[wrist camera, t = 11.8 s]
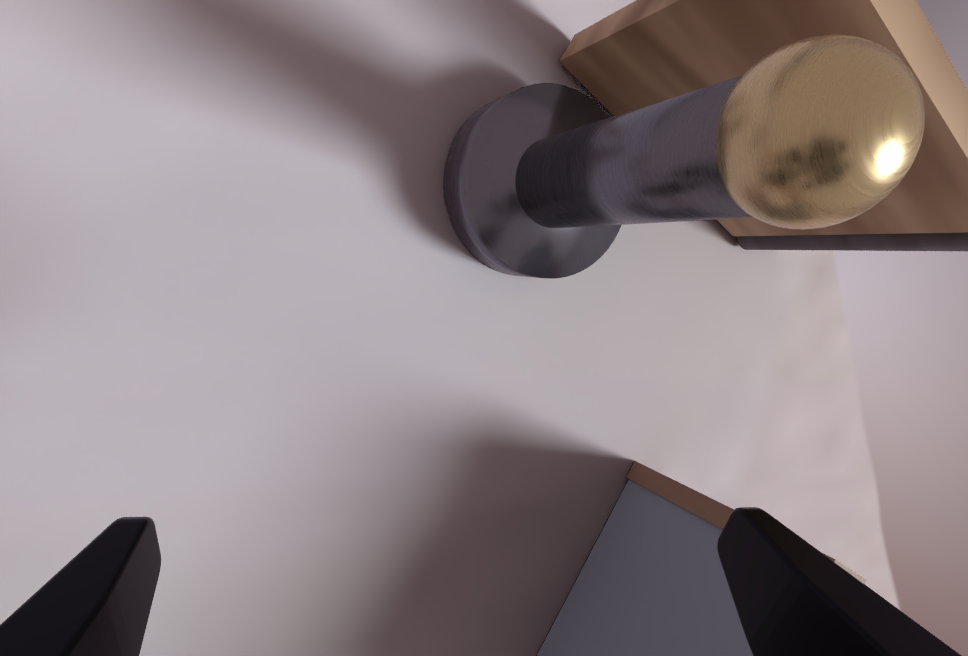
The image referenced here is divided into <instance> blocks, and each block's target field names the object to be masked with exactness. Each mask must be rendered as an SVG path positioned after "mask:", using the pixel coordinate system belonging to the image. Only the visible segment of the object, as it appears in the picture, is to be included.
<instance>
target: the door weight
mask: <svg viewBox="0 0 968 656" xmlns="http://www.w3.org/2000/svg"><path fill="white" fill-rule="evenodd" d="M924 125H925V110H924V102H923V97H922V93H921V90H920V87H919V85H918V83H917V81H916V79H915V77H914V75H913V74H912V72H911V71H910V69H909V68H908V67H907V66H906V64H905V63H904V62H903V61H902V60H901V59H900V58H899V57H898V56H897V55H895V54H894V53H893V52H891V51H890V50H888V49H887V48H885V47H883V46H882V45H880V44H877V43H875V42H872V41H870V40H867V39H864V38H860V37H855V36H849V35H823V36H815V37H809V38H806V39H802V40H798V41H795V42H792V43H790V44H788V45H785V46H783V47H781V48H779V49H777V50H775V51H773V52H772V53H770V54H768V55H767V56H765V57H763V58H762V59H761V60H760V61H758V62H757V63H756V64H755V65H754V66H752V67H751V68H750V69H749V70H748V71H747V72H746V73H745V74H744V75H742V76H739V77H736V78H733V79H730V80H726V81H723V82H720V83H717V84H714V85H711V86H707V87H704V88H701V89H698V90H695V91H692V92H688V93H685V94H682V95H679V96H676V97H673V98H669V99H666V100H663V101H660V102H657V103H654V104H650V105H647V106H644V107H641V108H638V109H635V110H631V111H628V112H625V113H622V114H619V115H616V116H612V117H609V118H608V117H607V115H606V114H605V113H604V112H603V110H602V109H601V108H600V107H599V106H598V105H597V104H596V103H595V102H593V101H592V100H591V99H589V98H588V97H587V96H585V95H584V94H582V93H580V92H578V91H577V90H575V89H572V88H569V87H567V86H563V85H558V84H551V83H541V84H533V85H529V86H526V87H522V88H520V89H518V90H516V91H514V92H512V93H510V94H508V95H506V96H504V97H502V98H500V99H498V100H496V101H494V102H491V103H489V104H487V105H485V106H484V107H482V108H481V109H479V110H478V111H476V112H475V113H474V114H473V115H472V116H471V117H470V118H469V119H467V121H466V122H465V123H464V124H463V126H462V127H461V128H460V130H459V131H458V133H457V135H456V136H455V138H454V140H453V142H452V145H451V147H450V149H449V153H448V156H447V160H446V164H445V171H444V197H445V203H446V208H447V212H448V215H449V218H450V221H451V223H452V226H453V228H454V230H455V232H456V234H457V235H458V237H459V239H460V240H461V242H462V243H463V245H464V246H465V247H466V248H467V249H468V251H469V252H470V253H471V254H472V255H473V256H474V257H476V258H477V259H478V260H479V261H480V262H482V263H483V264H485V265H486V266H488V267H490V268H492V269H494V270H496V271H499V272H502V273H504V274H509V275H514V276H525V277H537V278H561V277H566V276H570V275H573V274H576V273H578V272H580V271H582V270H584V269H586V268H587V267H589V266H590V265H592V264H593V263H594V262H596V261H597V260H598V259H599V258H600V257H601V256H602V255H603V254H604V253H605V252H606V251H607V249H608V248H609V247H610V245H611V244H612V242H613V241H614V239H615V237H616V235H617V233H618V232H619V229H620V227H621V225H623V224H641V223H659V222H677V221H695V220H713V219H731V218H748V217H754V218H756V219H758V220H760V221H762V222H765V223H767V224H770V225H774V226H777V227H782V228H789V229H814V228H823V227H828V226H832V225H836V224H839V223H842V222H845V221H847V220H850V219H852V218H854V217H856V216H858V215H860V214H862V213H864V212H865V211H867V210H869V209H871V208H872V207H873V206H875V205H876V204H877V203H879V202H880V201H881V200H883V199H884V198H885V197H886V196H887V195H888V194H889V193H890V192H891V191H892V190H893V189H894V188H895V187H896V186H897V185H898V184H899V183H900V182H901V180H902V179H903V178H904V176H905V175H906V173H907V172H908V171H909V169H910V167H911V166H912V164H913V162H914V160H915V157H916V155H917V153H918V150H919V148H920V145H921V142H922V138H923V133H924Z"/></svg>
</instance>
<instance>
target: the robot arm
mask: <svg viewBox="0 0 968 656" xmlns="http://www.w3.org/2000/svg"><path fill="white" fill-rule="evenodd" d="M717 550H718V555H719V558H720V561H721V564H722V567H723V570H724V573H725V576H726V579H727V582H728V585H729V589H730V592H731V595H732V598H733V601H734V604H735V607H736V610H737V613H738V616H739V619H740V622H741V625H742V628H743V631H744V633H745V636H746V639H747V642H748V644H749V647H750V649H751V652H752V654H753V656H961V655H959V654H958V653H957V652H956V651H954V650H953V649H952V648H950V647H949V646H948V645H946V644H945V643H944V642H942V641H941V640H939V639H938V638H937V637H935V636H934V635H933V634H931V633H930V632H929V631H927V630H926V629H924V628H923V627H922V626H920V625H919V624H918V623H916V622H915V621H914V620H912V619H911V618H909V617H908V616H907V615H905V614H904V613H903V612H901V611H900V610H899V609H897V608H896V607H895V606H893V605H892V604H890V603H889V602H888V601H886V600H885V599H884V598H882V597H881V596H880V595H878V594H877V593H876V592H874V591H873V590H871V589H870V588H869V587H867V586H866V585H865V584H863V583H862V582H861V581H859V580H858V579H856V578H855V577H854V576H852V575H851V574H850V573H848V572H847V571H846V570H844V569H843V568H842V567H840V566H839V565H837V564H836V563H835V562H833V561H832V560H831V559H829V558H828V557H827V556H825V555H824V554H822V553H821V552H820V551H818V550H817V549H816V548H814V547H813V546H812V545H810V544H809V543H807V542H806V541H805V540H803V539H802V538H801V537H799V536H798V535H797V534H795V533H794V532H793V531H791V530H790V529H788V528H787V527H786V526H784V525H783V524H782V523H780V522H779V521H778V520H776V519H775V518H773V517H772V516H771V515H769V514H768V513H767V512H765V511H764V510H762V509H760V508H756V507H743V508H736V509H735V510H733V512H732V513H731V515H730V517H729V519H728V521H727V522H726V524H725V526H724V528H723V530H722V532H721V534H720V536H719V538H718V542H717ZM160 566H161V554H160V549H159V544H158V539H157V534H156V529H155V524H154V521H153V520H152V519H151V518H150V517H123V518H119V519H117V520H116V521H114V522H113V523H112V524H111V525H110V526H108V527H107V528H106V529H105V530H104V531H103V532H102V533H101V534H100V535H99V536H97V537H96V538H95V539H94V540H93V541H92V542H91V543H90V544H89V545H88V546H87V547H85V548H84V549H83V550H82V551H81V552H80V553H79V554H78V555H77V556H76V557H74V558H73V559H72V560H71V561H70V562H69V563H68V564H67V565H66V566H65V567H63V568H62V569H61V570H60V571H59V572H58V573H57V574H56V575H55V576H54V577H52V578H51V579H50V580H49V581H48V582H47V583H46V584H45V585H44V586H43V587H42V588H40V589H39V590H38V591H37V592H36V593H35V594H34V595H33V596H32V597H31V598H29V599H28V600H27V601H26V602H25V603H24V604H23V605H22V606H21V607H20V608H18V609H17V610H16V611H15V612H14V613H13V614H12V615H11V616H10V617H9V618H7V619H6V620H5V621H4V622H3V623H2V624H1V625H0V656H139V654H140V650H141V646H142V642H143V638H144V633H145V629H146V625H147V621H148V617H149V613H150V609H151V605H152V601H153V597H154V593H155V589H156V585H157V581H158V577H159V572H160Z"/></svg>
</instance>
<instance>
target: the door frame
mask: <svg viewBox="0 0 968 656" xmlns="http://www.w3.org/2000/svg"><path fill="white" fill-rule="evenodd" d="M626 477H627V478H628V479H629V480H628V482H627V484H626V486H625V488H624V490H623V492H622V493H621V495H620V497H619V499H618V501H617V503H616V505H615V507H614V509H613V511H612V513H611V515H610V516H609V518H608V520H607V522H606V524H605V526H604V528H603V530H602V532H601V534H600V536H599V537H598V539H597V541H596V543H595V545H594V547H593V549H592V551H591V553H590V555H589V557H588V559H587V560H586V562H585V564H584V566H583V568H582V570H581V572H580V574H579V576H578V578H577V580H576V582H575V583H574V585H573V587H572V589H571V591H570V593H569V595H568V597H567V599H566V601H565V603H564V605H563V606H562V608H561V610H560V612H559V614H558V616H557V618H556V620H555V622H554V624H553V626H552V627H551V629H550V631H549V633H548V635H547V637H546V639H545V641H544V643H543V645H542V647H541V649H540V650H539V652H538V654H537V656H753V654H752V652H751V649H750V647H749V644H748V642H747V639H746V636H745V633H744V631H743V628H742V625H741V622H740V619H739V616H738V613H737V610H736V607H735V604H734V601H733V598H732V595H731V592H730V589H729V585H728V582H727V579H726V576H725V573H724V570H723V567H722V564H721V561H720V558H719V555H718V550H717V542H718V538H719V536H720V534H721V532H722V530H723V528H724V526H725V524H726V522H727V521H728V519H729V517H730V515H731V513H732V512H733V510H734V509H732V508H730V507H728V506H725V505H723V504H721V503H719V502H717V501H715V500H713V499H711V498H709V497H707V496H705V495H703V494H701V493H699V492H697V491H695V490H693V489H691V488H689V487H687V486H685V485H683V484H681V483H679V482H677V481H675V480H673V479H671V478H669V477H666V476H664V475H662V474H660V473H658V472H656V471H654V470H652V469H650V468H648V467H646V466H644V465H642V464H640V463H638V462H636V461H634V463H633V465H632V467H631V469H630V471H629V473H628V475H627V476H626ZM822 554H823V553H822ZM824 555H825V554H824ZM825 556H827V555H825ZM827 557H828V558H829V559H831V560H832V561H833V562H835V563H836V564H837V565H839V566H840V567H842V568H843V569H844V570H846V571H847V572H848V573H850V574H851V575H852V576H854V577H855V578H856V579H858V580H859V581H861V582H862V583H863V584H865V582H866V579H864V578H863V577H861V576H860V575H858V574H857V573H855V572H853V571H852V570H850V569H849V568H847V567H846V566H844V565H843V564H841V563H840V562H838V561H837V560H835V559H833V558H831V557H829V556H827Z"/></svg>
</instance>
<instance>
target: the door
mask: <svg viewBox="0 0 968 656" xmlns="http://www.w3.org/2000/svg"><path fill="white" fill-rule="evenodd" d="M823 35H849V36H855V37H860V38H864V39H867V40H870V41H872V42H875V43H877V44H880V45H882V46H883V47H885V48H887V49H888V50H890V51H891V52H893V53H894V54H895V55H897V56H898V57H899V58H900V59H901V60H902V61H903V62H904V63H905V64H906V66H907V67H908V68H909V69H910V71H911V72H912V74H913V75H914V77H915V79H916V81H917V83H918V85H919V87H920V90H921V93H922V97H923V102H924V110H925V125H924V133H923V138H922V142H921V145H920V148H919V150H918V153H917V155H916V157H915V160H914V162H913V164H912V166H911V167H910V169H909V171H908V172H907V173H906V175H905V176H904V178H903V179H902V180H901V182H900V183H899V184H898V185H897V186H896V187H895V188H894V189H893V190H892V191H891V192H890V193H889V194H888V195H887V196H886V197H885V198H884V199H883V200H881V201H880V202H879V203H877V204H876V205H875V206H873V207H872V208H871V209H869V210H867V211H865V212H864V213H862V214H860V215H858V216H856V217H854V218H852V219H850V220H847V221H845V222H842V223H839V224H836V225H832V226H828V227H823V228H814V229H789V228H782V227H777V226H774V225H770V224H767V223H765V222H762V221H760V220H758V219H756V218H754V217H748V218H731V219H716V220H717V221H718V222H719V223H720V224H721V225H722V226H723V227H724V228H725V229H726V230H727V231H728V232H729V233H730V234H731V235H732V236H737V241H738V243H739V245H740V246H741V247H742V248H743V249H746V250H873V251H874V250H875V251H876V250H877V251H884V250H885V251H968V91H967V89H966V87H965V86H964V84H963V82H962V81H961V79H960V77H959V75H958V73H957V71H956V70H955V68H954V66H953V65H952V63H951V61H950V59H949V58H948V56H947V54H946V52H945V50H944V49H943V47H942V45H941V43H940V42H939V40H938V38H937V36H936V35H935V33H934V31H933V29H932V28H931V26H930V24H929V22H928V21H927V19H926V17H925V15H924V14H923V12H922V10H921V8H920V7H919V5H918V3H917V1H916V0H636V1H635V2H633V3H631V4H629V5H627V6H626V7H624V8H622V9H620V10H618V11H617V12H615V13H613V14H611V15H609V16H608V17H606V18H604V19H602V20H600V21H599V22H597V23H595V24H593V25H591V26H590V27H588V28H586V29H584V30H582V31H581V32H579V33H577V34H575V35H574V37H573V39H572V40H571V42H570V44H569V45H568V47H567V49H566V50H565V52H564V54H563V55H562V57H561V59H560V60H559V62H560V63H561V64H562V65H563V66H564V67H565V68H566V69H567V70H568V71H569V72H570V73H571V74H572V75H573V76H574V77H575V78H576V79H577V80H578V81H579V82H580V83H581V84H582V85H583V86H584V87H585V88H586V89H587V90H588V91H589V92H590V93H591V94H592V95H593V96H594V97H595V98H596V99H597V100H598V101H599V102H600V103H601V104H602V105H603V106H604V107H605V108H606V109H607V110H608V111H609V112H610V113H611V114H612V115H613V116H616V115H619V114H622V113H625V112H628V111H631V110H635V109H638V108H641V107H644V106H647V105H650V104H654V103H657V102H660V101H663V100H666V99H669V98H673V97H676V96H679V95H682V94H685V93H688V92H692V91H695V90H698V89H701V88H704V87H707V86H711V85H714V84H717V83H720V82H723V81H726V80H730V79H733V78H736V77H739V76H742V75H744V74H745V73H746V72H747V71H748V70H749V69H750V68H751V67H752V66H754V65H755V64H756V63H757V62H758V61H760V60H761V59H762V58H763V57H765V56H767V55H768V54H770V53H772V52H773V51H775V50H777V49H779V48H781V47H783V46H785V45H788V44H790V43H792V42H795V41H798V40H802V39H806V38H809V37H815V36H823Z"/></svg>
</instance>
